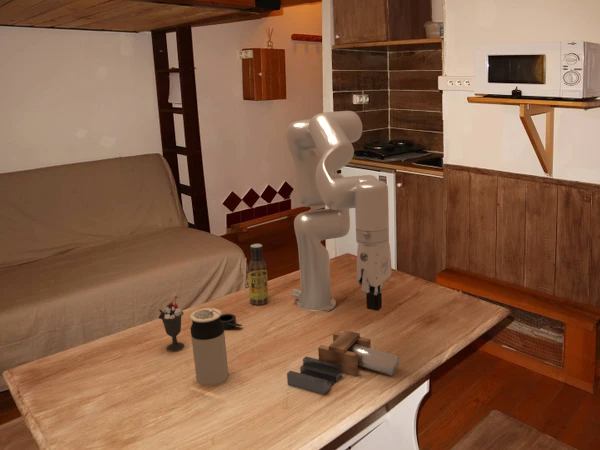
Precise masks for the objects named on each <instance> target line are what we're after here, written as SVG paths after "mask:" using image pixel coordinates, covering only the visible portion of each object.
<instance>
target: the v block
mask: <svg viewBox="0 0 600 450" xmlns="http://www.w3.org/2000/svg"><path fill="white" fill-rule="evenodd" d="M299 371H300V372H297V371H294V370H293V371H292V370H289V371H288V372H287V373H286V378H287V381H286V382H287V386H291V387H294V388H297V389H301V390H304V391H307V392H312V393H316V394H319V395H323V396H325V395H327V393H328V392H329V391H330V390H332V388H333V387H334V386H335V385H336V383H338V381H339V380H340V379H341V378H343V373H342V365H339V364H335V363H331V362H327V361H323V360H319V358H313V357H310V356H305V357H303V358H302V365H301V366H300V367H299Z"/></svg>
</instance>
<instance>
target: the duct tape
mask: <svg viewBox="0 0 600 450" xmlns="http://www.w3.org/2000/svg"><path fill="white" fill-rule="evenodd" d="M220 320H221V321H222V322H223V324H224V331H229V330H230V331H231V330H233V329H235V328H236V327H242V326H243V324H241V323H237V318H236V315H235V314H232V313H225V314H221V316H220Z"/></svg>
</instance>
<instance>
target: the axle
mask: <svg viewBox="0 0 600 450" xmlns="http://www.w3.org/2000/svg"><path fill="white" fill-rule="evenodd" d="M346 351H349V352H354V353H357V360H358V366H361V367H363V368H364V369H368V370H371V371H374V372H378V373H381V374H384V375H388V376H390V377H393V376H394V375H395V374H396V372H397V371H398V368H399V363H400V357H399V356H398V355H396V354H392V353H389V352H385V351H382V350H379V349H375V348H372V347H371V348H369V347H365V346H362V345H358V344H355V343H353V344H352V345H351V346H350V347H349V348H348V349H347V350H346Z"/></svg>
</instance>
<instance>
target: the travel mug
mask: <svg viewBox="0 0 600 450" xmlns="http://www.w3.org/2000/svg"><path fill="white" fill-rule="evenodd" d="M221 315H222V311H221V310H220V309H218V308H215V307H205V308H200V309H197V310H195V311H193V312H192V313H191V314H190V316H189V319H190V320H191V322H192V324H191V326H190V328H189V330H190V336H191V337H190V338H191V344H192V353H193V360H194V361H193V362H194V369H195V377H196V378H195V379H196V382H197V383H198V384H200V385H201V386H206V387H207V386H208V387H210V386H216V385H219V384H222V383H224V382H225V381H227V379H228V378H229V375H230V374H229V365H228V364H229V363H228V356H227V346H226V335H225V334H226V333H225V330H224V324H223V322H222V321H221V320H220V316H221Z"/></svg>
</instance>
